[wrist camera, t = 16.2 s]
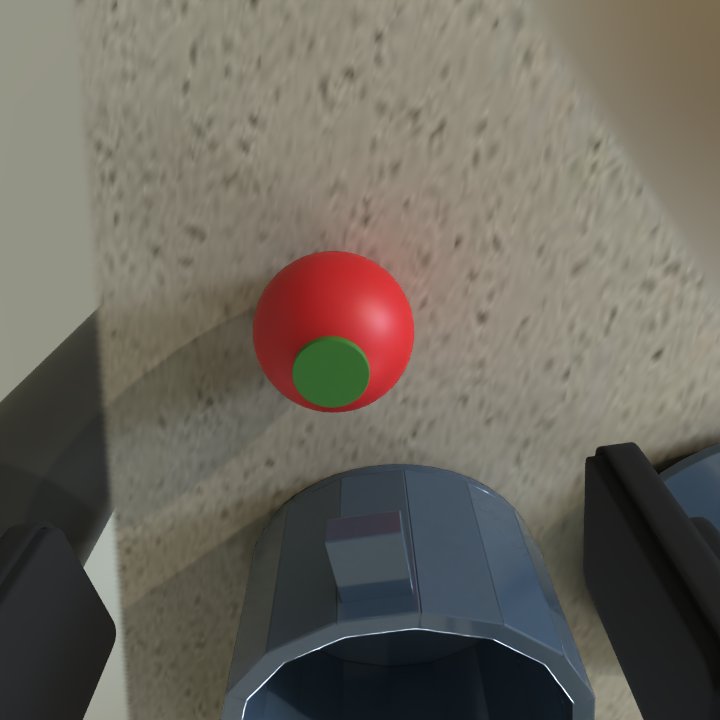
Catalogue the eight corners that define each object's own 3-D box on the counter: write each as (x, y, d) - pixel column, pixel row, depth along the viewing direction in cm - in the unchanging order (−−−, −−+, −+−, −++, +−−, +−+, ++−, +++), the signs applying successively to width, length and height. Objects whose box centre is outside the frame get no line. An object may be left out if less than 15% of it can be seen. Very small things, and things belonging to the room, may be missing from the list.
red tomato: (336, 388, 23) (331, 478, 18) (235, 300, 21) (199, 373, 16) (436, 303, 21) (460, 377, 16) (336, 200, 19) (330, 247, 14)
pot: (299, 707, 32) (285, 874, 26) (199, 437, 24) (138, 584, 17) (540, 680, 31) (590, 847, 25) (529, 388, 23) (602, 524, 16)
